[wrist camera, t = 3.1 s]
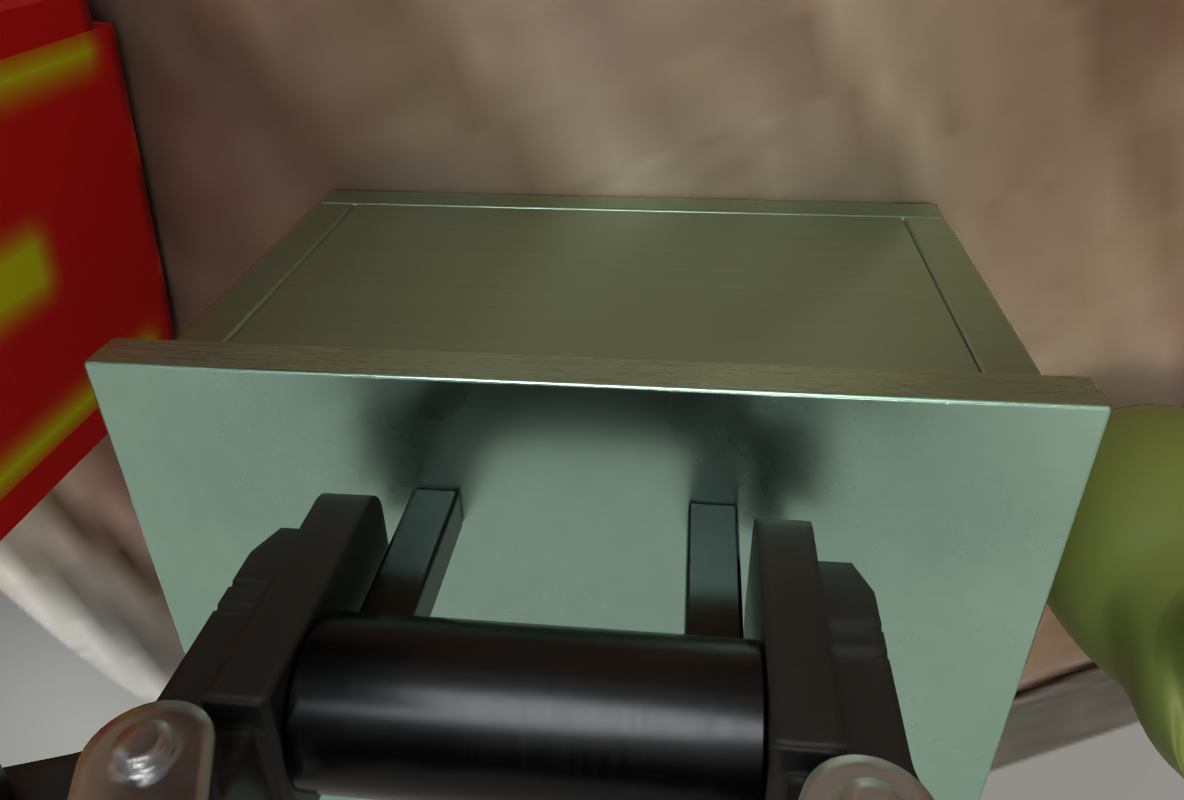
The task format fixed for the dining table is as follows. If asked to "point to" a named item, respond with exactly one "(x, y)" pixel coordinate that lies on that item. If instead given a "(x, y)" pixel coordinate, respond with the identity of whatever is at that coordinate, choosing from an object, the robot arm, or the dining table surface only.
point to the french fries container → (65, 240)
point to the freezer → (625, 282)
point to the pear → (1133, 568)
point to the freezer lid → (601, 549)
